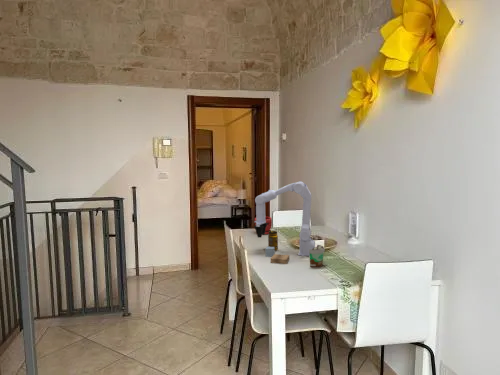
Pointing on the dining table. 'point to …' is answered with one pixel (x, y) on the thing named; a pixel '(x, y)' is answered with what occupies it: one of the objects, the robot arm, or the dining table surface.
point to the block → (270, 251)
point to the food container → (316, 256)
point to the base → (280, 259)
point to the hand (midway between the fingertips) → (261, 235)
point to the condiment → (273, 240)
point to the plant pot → (268, 227)
